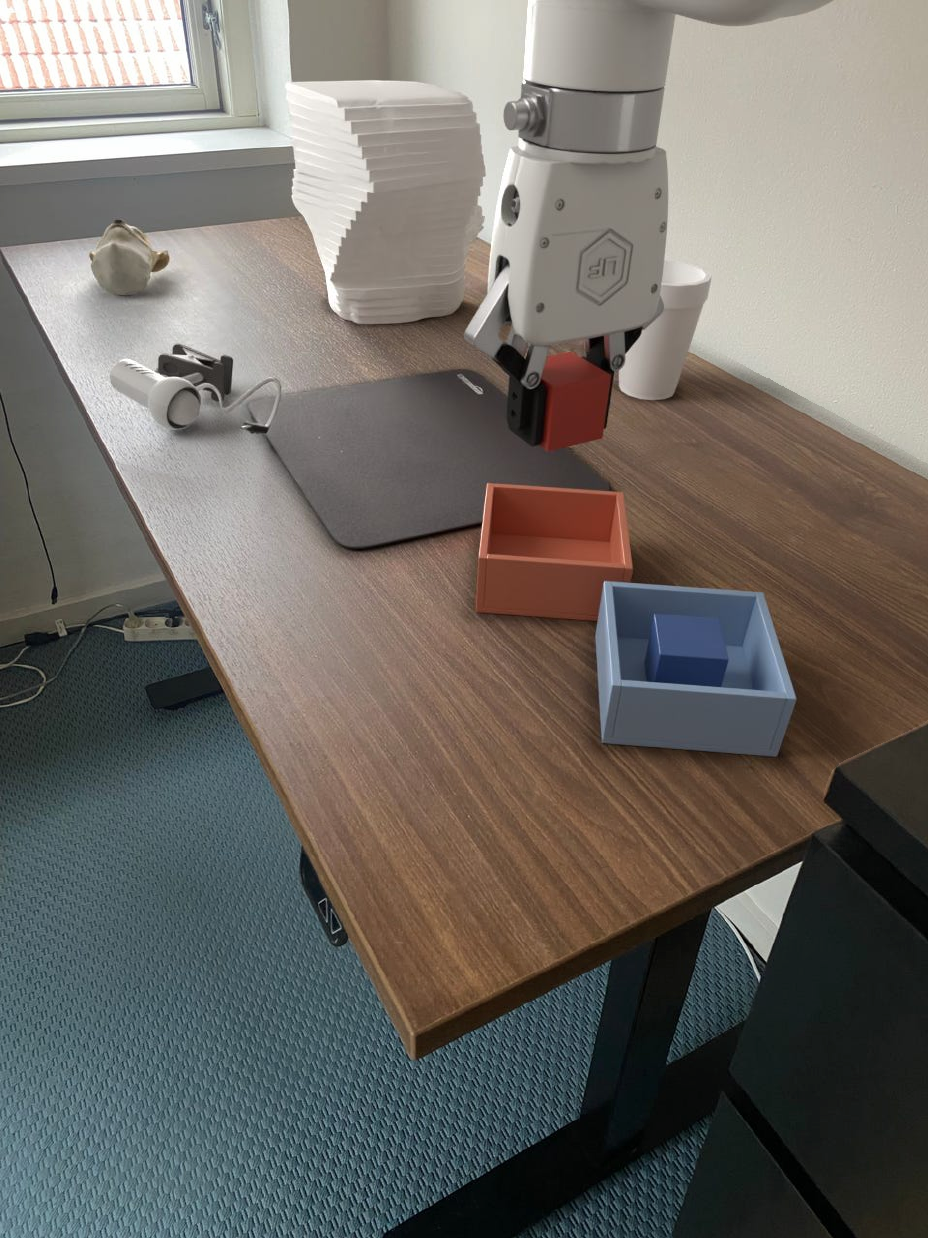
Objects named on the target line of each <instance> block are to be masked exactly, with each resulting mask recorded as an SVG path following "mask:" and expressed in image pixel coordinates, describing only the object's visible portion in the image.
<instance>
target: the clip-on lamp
mask: <svg viewBox="0 0 928 1238" xmlns="http://www.w3.org/2000/svg"><path fill="white" fill-rule="evenodd" d="M157 360H158V361H157V368H156V369H155V370H152V369H150V368H148V367H146V366H144V365H143V364H140V363H138V362H136V361H134V360H132V359H129V358H123V359H121V360H119V361H117V362H116V363H114V364H113V366H112V367H111V369H110V371H109V382H110V384H111V386H112V388H113V389H114V390H116V391H117V392H118V393H120V394H122V395H124V396H125V397H127V398H129V399H131V400H132V401H134V402H136V403H138V404H139V405H141V406H142V407H145V409H148V410H149V413H150V415H151V417H152V418H153V420H154V421H155V422H156V423H158V424H159V425H160V426H162V427H163V428H166V429H169V430H173V431H180V430H185V429H186V428H188V427H189V426H190V425H192V423H194V422H195V421H196V420H197V419H198V417H199V416H200V413H201V411H200V410H201V405H202V397H201V396H202V395H201V394H200V391H201V390H203V391H207V392H209V393H210V398H211V400H212V401H214V402H217V403H219V408H220V411H221V412H222V413H223V414H227V413H229V412H232V411H233V410H234V409H236V408H237V407H239V405H240V404H242V403H243V402H244V401H245V400H247V399H248V398H249V397H251V395H253V394H254V393H255V392H256V391H257V390H259V389H260V388H261V387H263V386H265V385H267V384H268V383H271V382H274V383H275V384H276V388H277V389H276V395H275V396H276V401H275V404H274V408H273V410H272V413H271V416H270V418H269V420H268V422H267V424H266V425H263V424H260V423H257V422H253V421H252V422H251V421H244V422H243V424H242V425H241V426H240V429H241V430H245V431H247V432H249V433H250V434H252V435H253V434H257V435H259V434H264V433H265V434H266V433H267V432H268V430H269V427H270V425H271V424H272V422H273V419H274V417H275V415H276V412H277V409H278V405H279V401H280V396H281V395H282V394H281V393H282V385H281V381H280V379H278V378H277V377H271V376H270V377H268V378H265V379H263V380H261V381H260V382H258V383H256V384H255V385H254V386H253V387H251V388H250V389H248V390H247V391H246V392H245V393H244V394H242V395H241V396H240V397H239V398H237V400H235V401H234V402H232V403H231V404H230V405H229V406H227V407H223V402H224V400H225V395H226V396H228V395H230V394H231V393H232V384H233V383H232V382H233V369H234V359H233V357H231V356H229V355H227V354H222V355H221V356H220V359H218V358H216V357H213V356H211V355H209V354H206V353H204V352H201V351H199V350H197V349H194V348H192V347H189V346H187V345H184V344H182V343H179V342H178V343H176V344H175V343H174V344H173V345H172V354H171V353H170V354H168V353H162V354H159V356H158V359H157Z"/></svg>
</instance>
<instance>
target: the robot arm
mask: <svg viewBox="0 0 928 1238" xmlns="http://www.w3.org/2000/svg"><path fill="white" fill-rule="evenodd" d="M527 2H528V3H527V17H526V18H527V19H526V34H525V50H524V52H525V53H524V64H523V66H524V67H523V80H522V83H521V86H520V98H519V99H518V100H515V101H514V100H513V101H512V100H511V101H507V103H505V105H504V108H503V115H502V117H503V123H504V126H505V128H506V129H507V130H508V131H518V133H517V136H518V138H519V139H518V145H517V146H516V145H515V146H512V147H510V149H509V152H508V156H507V159H506V163H505V167H504V170H503V174H502V179H501V184H500V188H499V193H498V199H497V203H496V209H495V215H494V223H493V229H492V237H491V244H490V246H491V247H490V253H489V264H488V275H487V294H486V295H485V296H484V299H483V300H482V301H481V304H480V305H479V307H478V308H477V310H476V312H475V313H474V316H473V317H472V318H471V320H470V322H469V323H468V325H467V326H466V329H465V330H464V333H463V338H464V340H465V341H466V342H467V343H468V344H470V345H471V346H473V347H475V348H476V349H477V350H479V351H481V352H482V353H484V354H485V355H486V356H488V357H489V358H490V359H491V360H492V361H493V362H494V363H495V364H496V365H497V366H498V368H500V369H501V372H503V374H506V375H507V376H508V387H507V388H508V389H507V397H508V401H507V423H508V427H509V429H510V431H512V432H513V433H514V434H516V435H517V436H518V437H520V438H521V439H522V440H524V441H525V442H526V443H528V444H529V445H530V446H537V445H540V444H541V442H542V438H543V428H544V417H545V407H546V396H547V390H546V387H544V386H543V385H541V384H540V381H541V378H542V374H543V370H544V367H545V363H546V360H547V356H549V352H550V349H551V346H555V345H562V344H567V343H571V342H577V341H578V342H579V341H582V340H583V341H584V352H585V354H586V355H585V356H580V357H581V358H583V359H585V360H586V361H588V362H590V363H591V364H593V365H595V366H597V367H598V368H600V369H602V370H603V371H605V372H607V373H608V374H610V375H611V381H610V388H609V395H608V402H607V409H606V417H605V424H604V430H606V429H607V426H608V421H609V412H610V406H611V400H612V392H613V386H614V378H615V372H619V370H620V369H621V368H622V367H623V366H624V364H625V354H626V353H627V352H628V351H629V349H630V348H631V347H632V346H633V345H634V343H635V342H636V341H637V340H638V338H639V337H640V335H641V333H642V330H645V329H646V328H647V327H648V326H649V325H650V324H651V323H652V322H653V321H654V320H655V319H656V318H657V317H658V316H659V315H660V314H661V313H662V312H663V309H664V303H663V301H662V299H661V296H660V291H661V283H662V276H663V267H664V259H666V258H665V257H666V246H667V235H668V221H669V171H668V170H669V169H668V159H667V158H668V157H667V151H666V150H665V149H664V148H663V147H662V148H661V147H659V146H657V142H658V137H659V129H660V123H661V116H662V111H663V109H662V108H663V103H664V95H665V89H666V88H665V87H666V81H667V75H668V68H669V62H670V54H671V48H672V42H673V35H674V28H675V22H676V21H675V20H676V16H677V15H678V16H681V17H684V18H688V19H692V20H695V21H699V22H702V23H707V24H711V25H717V26H723V27H745V26H753V25H759V24H763V23H768V22H772V21H775V20H778V19H783V18H789V17H796V16H801V15H805V14H807V13H810V12H813V11H816V10H819V9H820V8H823V7H825V6H826V5H828V4H831V3H832V2H834V0H528V1H527ZM503 325H505V326H510V329H509V333H508V336H507V341H505V340H504V339H502V338H501V336H500V330H501V328H502V326H503ZM527 348H528V349H527ZM526 351H527V352H526Z"/></svg>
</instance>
